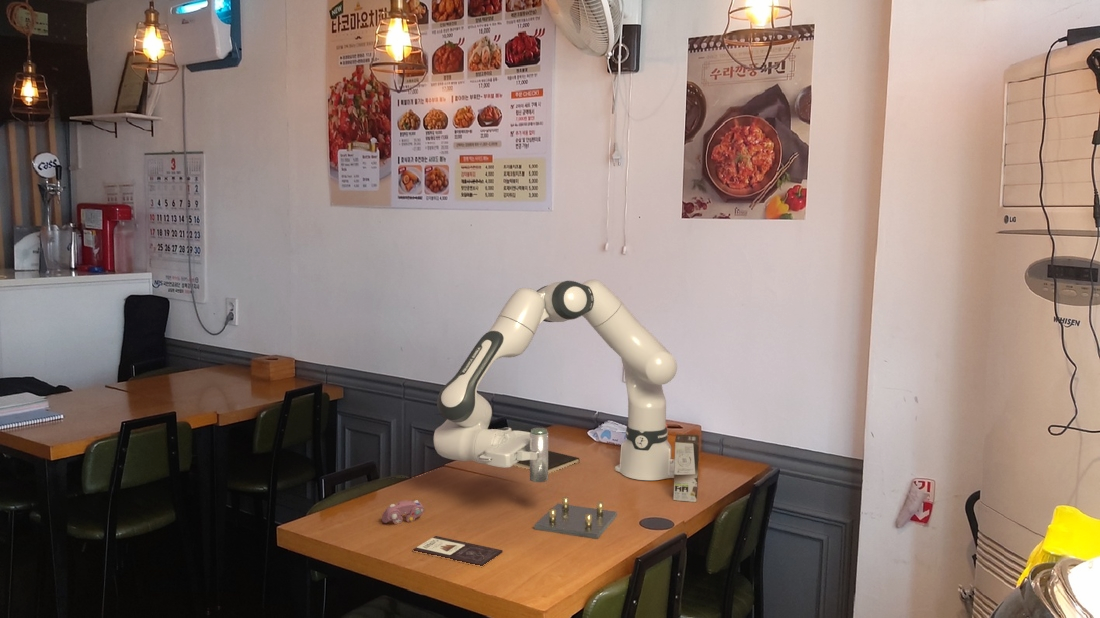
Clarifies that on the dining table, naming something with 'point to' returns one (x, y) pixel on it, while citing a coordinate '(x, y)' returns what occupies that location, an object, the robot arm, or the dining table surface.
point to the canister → (541, 464)
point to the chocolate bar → (458, 550)
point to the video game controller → (403, 511)
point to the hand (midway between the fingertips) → (542, 452)
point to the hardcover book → (552, 461)
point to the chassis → (576, 520)
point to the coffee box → (686, 467)
